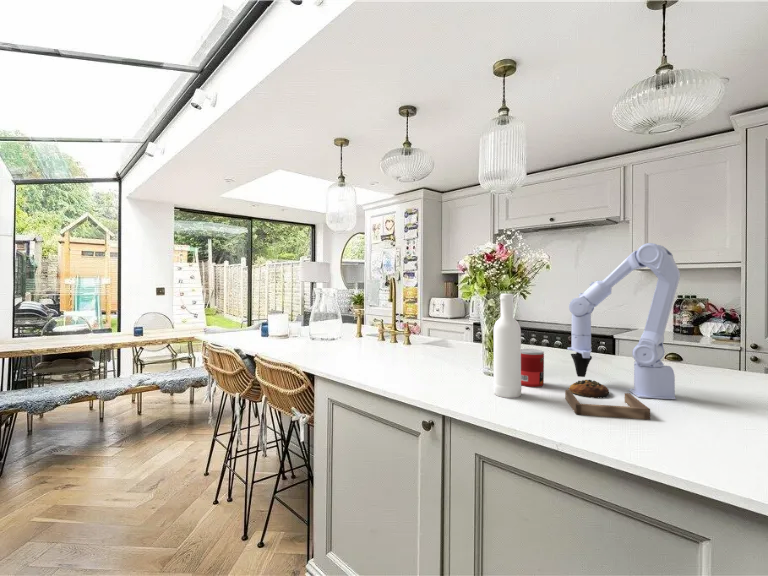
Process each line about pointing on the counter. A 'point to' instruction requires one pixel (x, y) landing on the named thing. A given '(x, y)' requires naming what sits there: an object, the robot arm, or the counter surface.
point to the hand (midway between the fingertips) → (581, 376)
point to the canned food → (532, 367)
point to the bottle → (507, 351)
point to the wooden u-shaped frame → (610, 408)
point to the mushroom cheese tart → (589, 389)
